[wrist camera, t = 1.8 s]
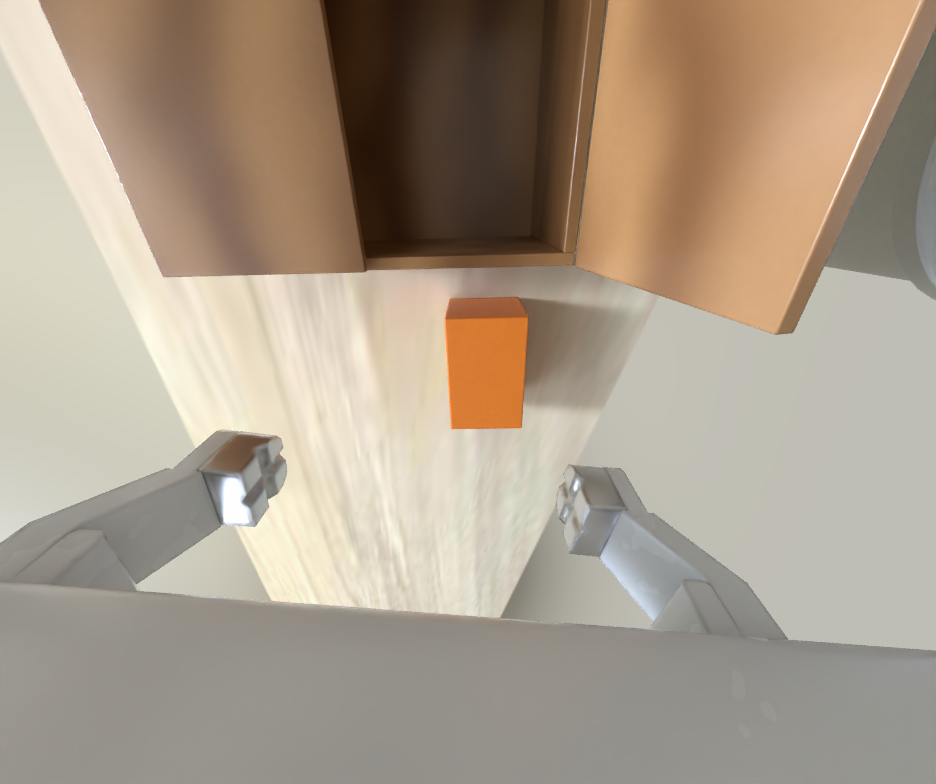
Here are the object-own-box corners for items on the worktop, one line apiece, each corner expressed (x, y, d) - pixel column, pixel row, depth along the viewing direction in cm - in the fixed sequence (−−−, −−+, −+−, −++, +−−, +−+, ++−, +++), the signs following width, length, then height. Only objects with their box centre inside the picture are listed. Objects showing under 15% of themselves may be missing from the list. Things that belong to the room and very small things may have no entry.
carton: (556, -53, 16) (665, -389, 7) (536, 243, 22) (579, 268, 13) (207, -37, 16) (-119, -337, 7) (285, 250, 23) (161, 278, 14)
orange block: (518, 297, 24) (528, 317, 20) (514, 393, 28) (521, 428, 23) (449, 298, 24) (444, 318, 20) (454, 394, 28) (451, 429, 24)
